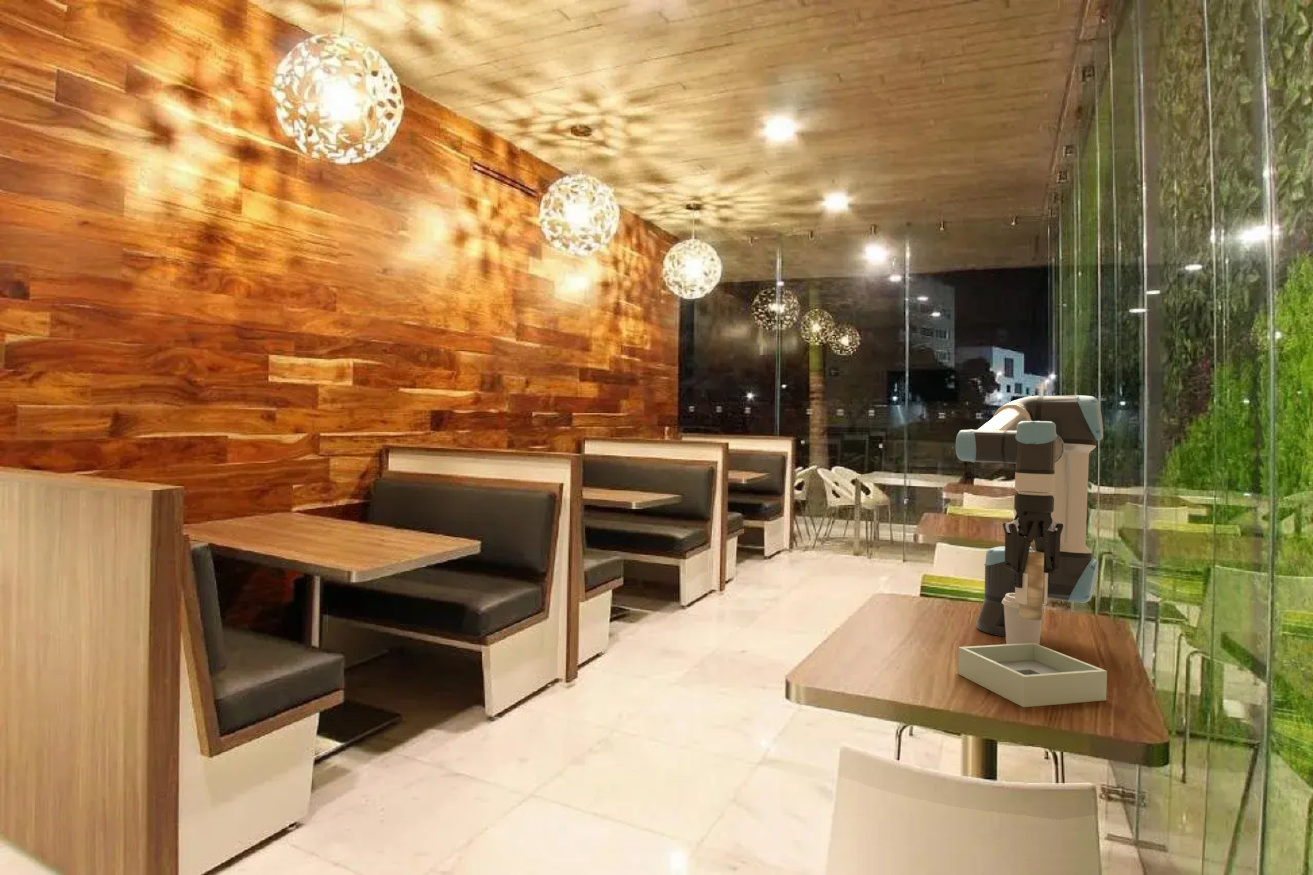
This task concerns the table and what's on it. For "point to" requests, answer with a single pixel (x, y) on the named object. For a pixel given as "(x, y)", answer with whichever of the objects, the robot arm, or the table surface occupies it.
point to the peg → (1034, 587)
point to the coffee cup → (1019, 623)
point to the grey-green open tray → (1032, 674)
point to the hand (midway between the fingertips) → (1030, 602)
